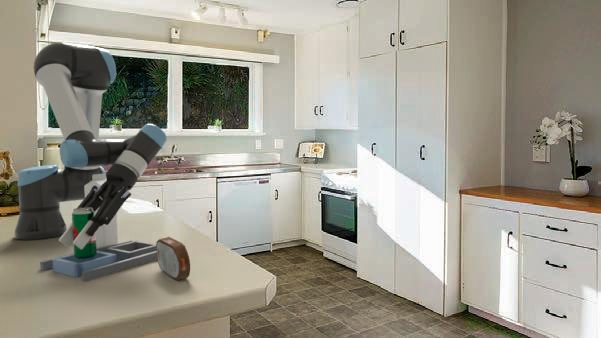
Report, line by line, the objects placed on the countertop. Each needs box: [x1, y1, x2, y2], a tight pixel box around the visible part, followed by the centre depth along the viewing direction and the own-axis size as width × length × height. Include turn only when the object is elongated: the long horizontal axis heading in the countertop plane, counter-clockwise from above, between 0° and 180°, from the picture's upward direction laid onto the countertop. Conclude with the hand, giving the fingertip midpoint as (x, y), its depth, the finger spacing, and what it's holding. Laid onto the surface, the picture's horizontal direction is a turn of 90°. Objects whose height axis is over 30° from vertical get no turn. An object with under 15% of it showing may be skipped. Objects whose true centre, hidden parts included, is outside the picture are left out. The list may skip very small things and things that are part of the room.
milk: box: [84, 172, 119, 248], centre depth 128 cm, size 6×6×22 cm
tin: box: [155, 236, 191, 281], centre depth 102 cm, size 15×3×8 cm, turn 38°
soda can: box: [71, 207, 97, 259], centre depth 107 cm, size 5×5×12 cm
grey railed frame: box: [39, 239, 157, 282], centre depth 114 cm, size 18×26×3 cm
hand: (70, 244), depth 104 cm, fingers closed on soda can, 5 cm apart
